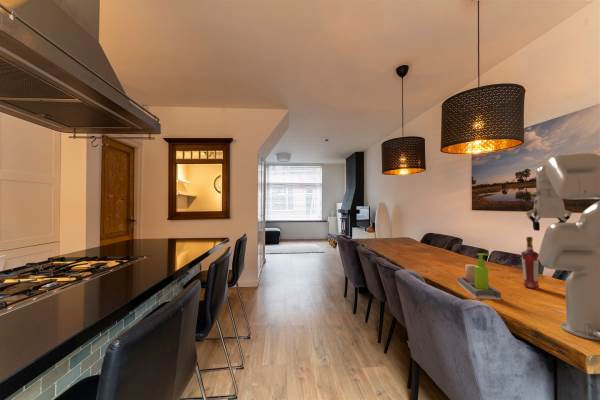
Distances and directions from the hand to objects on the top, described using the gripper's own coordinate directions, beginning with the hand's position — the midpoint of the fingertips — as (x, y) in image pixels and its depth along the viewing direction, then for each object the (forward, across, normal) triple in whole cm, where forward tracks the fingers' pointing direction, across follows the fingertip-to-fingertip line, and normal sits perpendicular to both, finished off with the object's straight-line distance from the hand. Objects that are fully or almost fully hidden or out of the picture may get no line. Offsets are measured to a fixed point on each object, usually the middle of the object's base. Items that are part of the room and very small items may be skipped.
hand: (549, 230), depth 122 cm
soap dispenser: (+34, -24, +11) cm, 42 cm away
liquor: (+34, +6, +27) cm, 44 cm away
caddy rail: (+34, -24, +16) cm, 45 cm away
